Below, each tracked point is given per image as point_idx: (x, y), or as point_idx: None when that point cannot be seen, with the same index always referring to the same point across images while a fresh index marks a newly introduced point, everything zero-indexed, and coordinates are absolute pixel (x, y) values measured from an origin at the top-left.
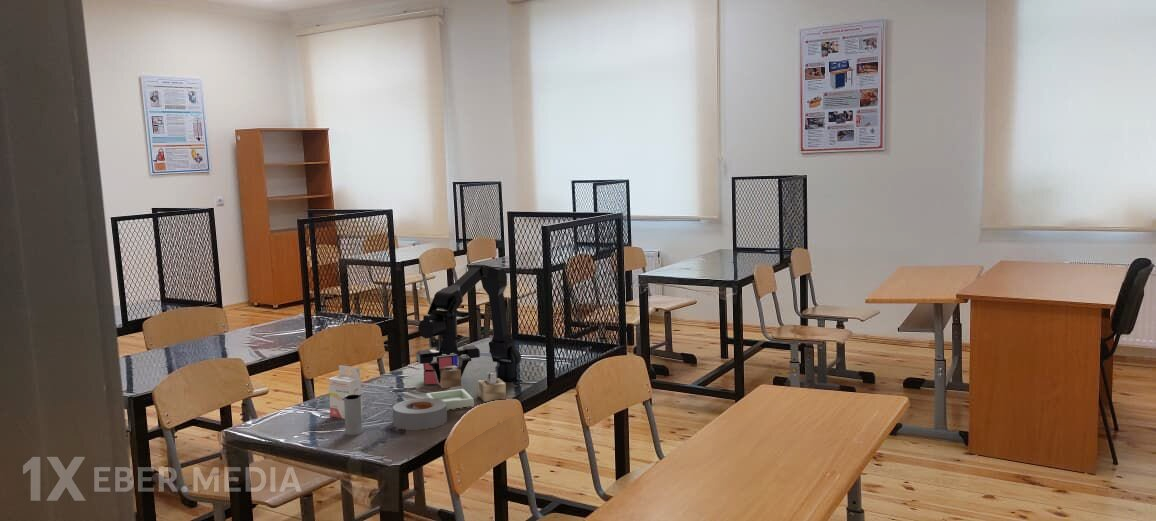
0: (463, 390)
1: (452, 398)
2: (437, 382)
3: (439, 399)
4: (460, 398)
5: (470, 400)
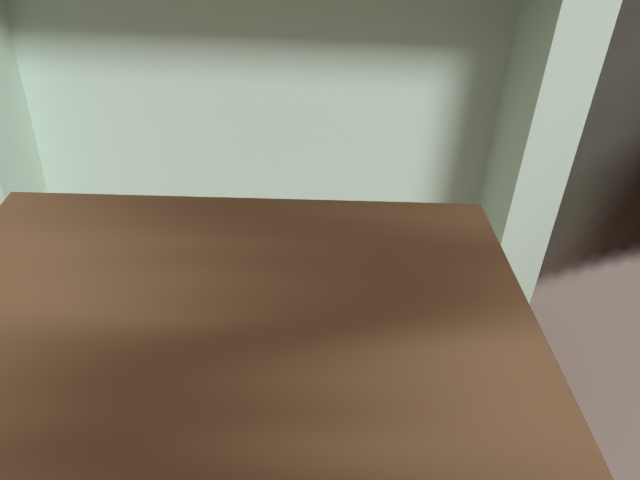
0: (579, 58)
1: (349, 63)
2: (4, 208)
3: (149, 18)
4: (451, 117)
5: None
